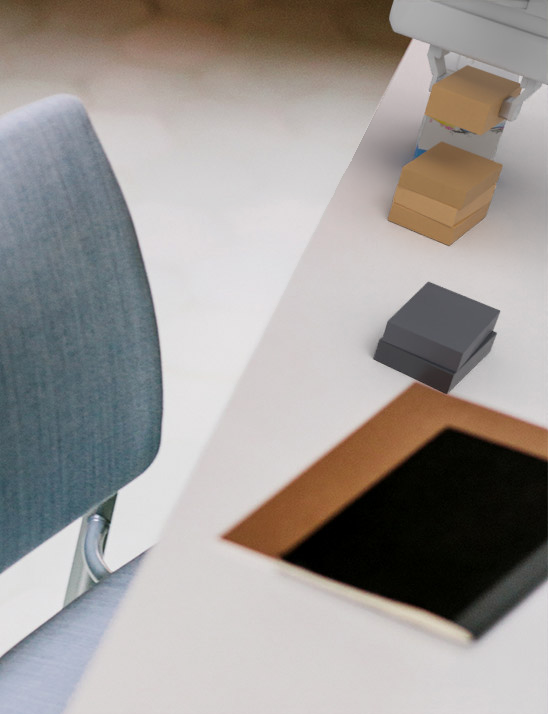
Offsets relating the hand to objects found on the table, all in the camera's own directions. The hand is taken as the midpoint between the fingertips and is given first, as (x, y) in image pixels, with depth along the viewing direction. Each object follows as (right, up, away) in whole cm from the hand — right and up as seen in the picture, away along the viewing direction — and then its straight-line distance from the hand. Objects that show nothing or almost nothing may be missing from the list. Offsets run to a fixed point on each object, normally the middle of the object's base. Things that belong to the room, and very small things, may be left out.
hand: (471, 105), depth 116 cm
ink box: (+3, -1, +19) cm, 19 cm away
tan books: (-1, -10, +8) cm, 12 cm away
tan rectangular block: (0, -1, +1) cm, 1 cm away
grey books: (-7, -25, -12) cm, 29 cm away
